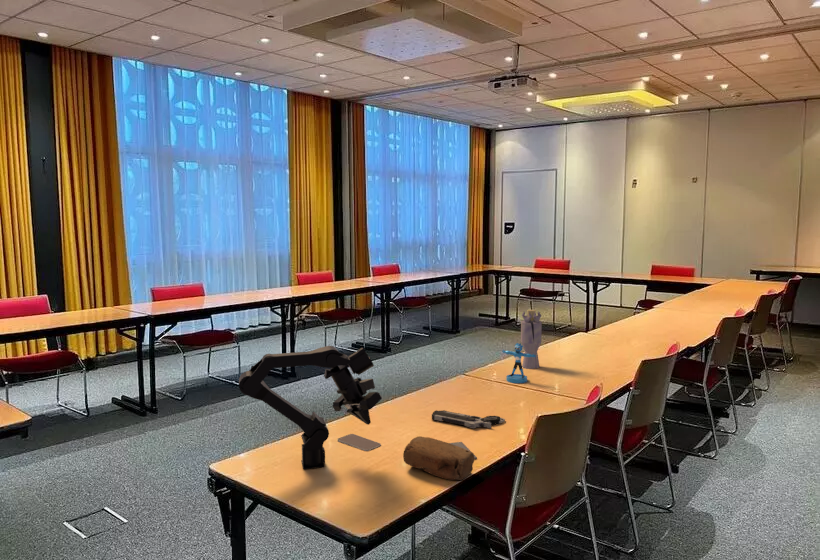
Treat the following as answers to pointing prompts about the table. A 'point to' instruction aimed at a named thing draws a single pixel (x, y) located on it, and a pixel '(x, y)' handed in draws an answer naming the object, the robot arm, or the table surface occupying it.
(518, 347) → the figurine
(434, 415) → the firearm
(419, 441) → the brown pitted rounded part
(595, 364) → the table surface
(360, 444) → the smartphone
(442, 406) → the table surface
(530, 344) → the purple tower sculpture
